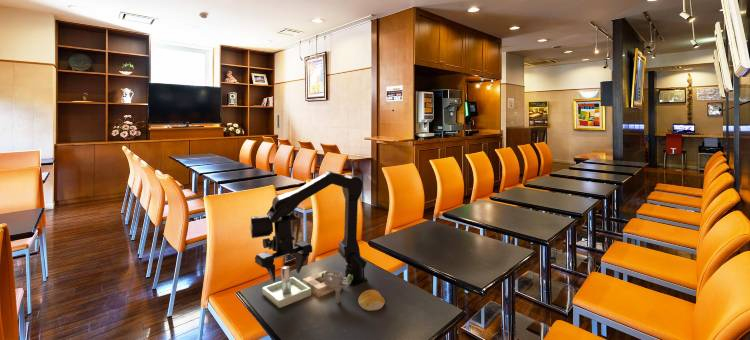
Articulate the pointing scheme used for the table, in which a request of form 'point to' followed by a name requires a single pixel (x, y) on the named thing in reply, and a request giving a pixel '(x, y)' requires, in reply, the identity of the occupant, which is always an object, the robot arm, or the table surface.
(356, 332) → the table surface
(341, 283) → the mechanical component
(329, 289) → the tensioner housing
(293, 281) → the parts tray
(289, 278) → the pin
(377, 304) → the bread roll
